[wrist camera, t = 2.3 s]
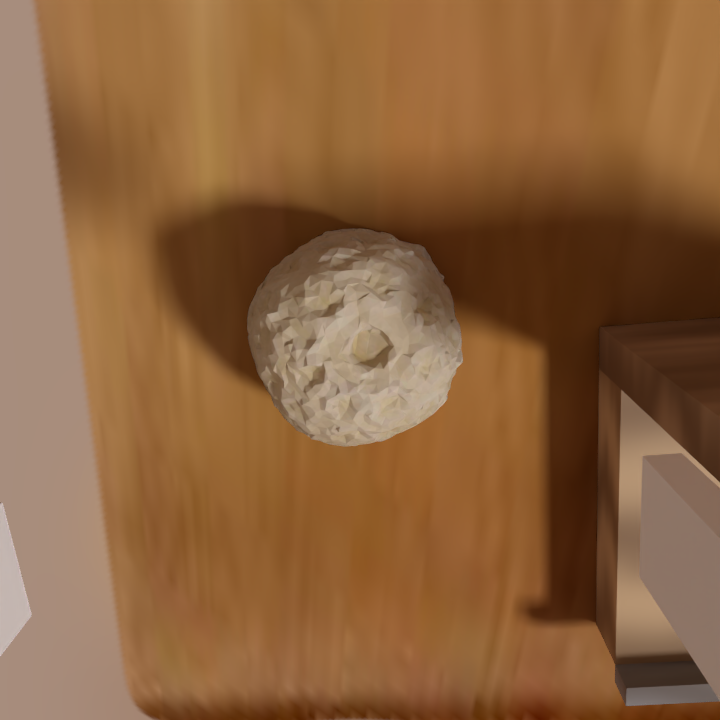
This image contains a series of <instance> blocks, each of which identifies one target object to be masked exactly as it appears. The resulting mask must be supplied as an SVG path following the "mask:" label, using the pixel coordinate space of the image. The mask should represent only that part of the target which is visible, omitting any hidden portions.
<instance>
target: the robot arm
mask: <svg viewBox="0 0 720 720" xmlns="http://www.w3.org/2000/svg"><path fill="white" fill-rule="evenodd" d="M639 577H640V578H641V580H642V581H643V583H644V585H645V586H646V588H647V589H648V591H649V592H650V594H651V595H652V597H653V598H654V600H655V601H656V603H657V605H658V606H659V608H660V609H661V611H662V612H663V614H664V615H665V617H666V618H667V620H668V622H669V623H670V625H671V626H672V628H673V629H674V631H675V632H676V634H677V635H678V637H679V639H680V640H681V642H682V643H683V645H684V646H685V648H686V649H687V651H688V652H689V654H690V656H691V657H692V659H693V660H694V662H695V663H696V665H697V666H698V668H699V669H700V671H701V672H702V674H703V676H704V677H705V679H706V680H707V682H708V683H709V685H710V686H711V688H712V689H713V691H714V693H715V694H716V696H717V697H718V699H719V700H720V488H719V487H718V486H717V485H716V484H715V483H713V482H712V481H711V480H710V479H709V478H708V477H707V476H706V475H705V474H704V473H703V472H702V471H701V470H699V469H698V468H697V467H696V466H695V465H694V464H693V463H692V462H691V461H690V460H689V459H688V458H687V457H685V456H684V455H683V454H682V453H675V454H661V455H647V456H643V458H642V494H641V530H640V566H639ZM31 616H32V614H31V610H30V606H29V603H28V599H27V595H26V592H25V587H24V584H23V580H22V576H21V572H20V568H19V564H18V560H17V557H16V553H15V549H14V545H13V541H12V537H11V533H10V529H9V526H8V522H7V518H6V514H5V510H4V506H3V503H2V502H0V656H1V655H2V653H3V652H4V651H5V649H6V648H7V647H8V646H9V644H10V643H11V641H12V640H13V639H14V638H15V636H16V635H17V634H18V632H19V631H20V630H21V629H22V627H23V626H24V625H25V623H26V622H27V621H28V619H29V618H30V617H31Z"/></svg>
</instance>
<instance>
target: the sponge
mask: <svg viewBox="0 0 720 720" xmlns="http://www.w3.org/2000/svg"><path fill="white" fill-rule="evenodd" d="M247 331H248V334H249V335H248V340H249V345H250V349H251V353H252V356H253V359H254V361H255V365H256V369H257V372H258V375H259V377H260V378H261V379H262V381H263V383H264V385H265V387H266V390H267V391H268V392H269V394H270V395H271V397H272V400H273V403H274V406H275V407H276V408H278V410H279V411H280V413H281V414H282V416H283V417H284V418H285V419H286V420H287V421H288V422H289V423H290V424H292V425H293V426H294V427H295V429H296V430H297V431H300V432H302V433H304V434H306V435H307V436H309V437H310V438H311V439H313V440H319V441H322V442H324V443H328V444H331V445H338V446H357V445H361V444H369V443H374V442H375V441H384V440H386V439H388V438H391V437H392V436H394V435H396V434H398V433H401V432H403V431H405V430H407V429H410V428H412V427H414V426H416V425H418V424H419V423H421V422H422V421H424V420H425V419H427V418H428V417H430V416H431V415H433V414H434V413H435V412H436V411H437V410H438V409H439V408H440V407H441V406H442V405H443V404H444V403H445V402H446V400H447V398H448V396H447V393H448V390H449V389H450V386H451V381H452V378H453V376H454V375H455V374H456V369H457V367H458V366H459V365H460V364H461V363H462V362H463V358H462V351H461V343H462V340H461V331H460V324H459V323H458V322H457V319H456V317H455V311H454V302H453V298H452V296H451V293H450V290H449V288H448V287H447V286H446V284H445V283H444V276H443V275H442V274H441V273H439V271H438V269H437V267H436V266H435V265H434V263H433V262H432V259H431V257H430V255H429V254H428V253H427V251H426V249H425V248H424V247H423V246H421V245H419V244H412V243H408V242H404V241H400V240H398V239H397V238H396V237H394V236H393V235H391V234H389V233H385V232H375V231H373V230H369V229H361V228H359V229H356V228H355V229H354V228H353V229H341V230H335V231H326V232H324V233H323V235H320V236H318V237H316V238H314V239H311V240H310V241H309V242H308V243H306V244H304V245H302V246H300V247H299V248H298V249H297V250H295V251H294V253H292V254H290V255H288V256H286V257H284V259H283V260H282V261H281V262H280V263H279V264H278V265H277V266H275V267H273V268H272V269H271V270H270V271H269V274H268V275H267V276H266V278H265V280H264V281H263V282H262V283H261V285H260V286H259V287H258V288H257V291H256V294H255V296H254V298H253V300H252V302H251V304H250V307H249V311H248V316H247Z"/></svg>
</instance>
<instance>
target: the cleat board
mask: <svg viewBox="0 0 720 720" xmlns="http://www.w3.org/2000/svg"><path fill="white" fill-rule="evenodd" d="M675 453H682V454H683V455H684V456H685V457H687V458H688V459H689V460H690V461H691V462H692V463H693V464H694V465H695V466H696V467H697V468H698V469H699V470H701V471H702V472H703V473H704V474H705V475H706V476H707V477H708V478H709V479H710V480H711V481H712V482H713V483H715V484H716V485H717V486H718V487H719V488H720V317H718V318H706V319H693V320H680V321H668V322H655V323H642V324H630V325H617V326H605V327H599V407H598V498H597V588H596V624H597V626H598V629H599V631H600V633H601V635H602V637H603V639H604V641H605V643H606V646H607V648H608V650H609V652H610V654H611V656H612V658H613V661H614V663H615V683H616V685H617V687H618V689H619V691H620V694H621V696H622V698H623V700H624V703H625V705H626V706H634V705H654V704H674V703H694V702H714V701H720V700H719V699H718V697H717V696H716V694H715V693H714V691H713V689H712V688H711V686H710V685H709V683H708V682H707V680H706V679H705V677H704V676H703V674H702V672H701V671H700V669H699V668H698V666H697V665H696V663H695V662H694V660H693V659H692V657H691V656H690V654H689V652H688V651H687V649H686V648H685V646H684V645H683V643H682V642H681V640H680V639H679V637H678V635H677V634H676V632H675V631H674V629H673V628H672V626H671V625H670V623H669V622H668V620H667V618H666V617H665V615H664V614H663V612H662V611H661V609H660V608H659V606H658V605H657V603H656V601H655V600H654V598H653V597H652V595H651V594H650V592H649V591H648V589H647V588H646V586H645V585H644V583H643V581H642V580H641V578H640V577H639V566H640V530H641V494H642V458H643V456H647V455H661V454H675Z"/></svg>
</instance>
